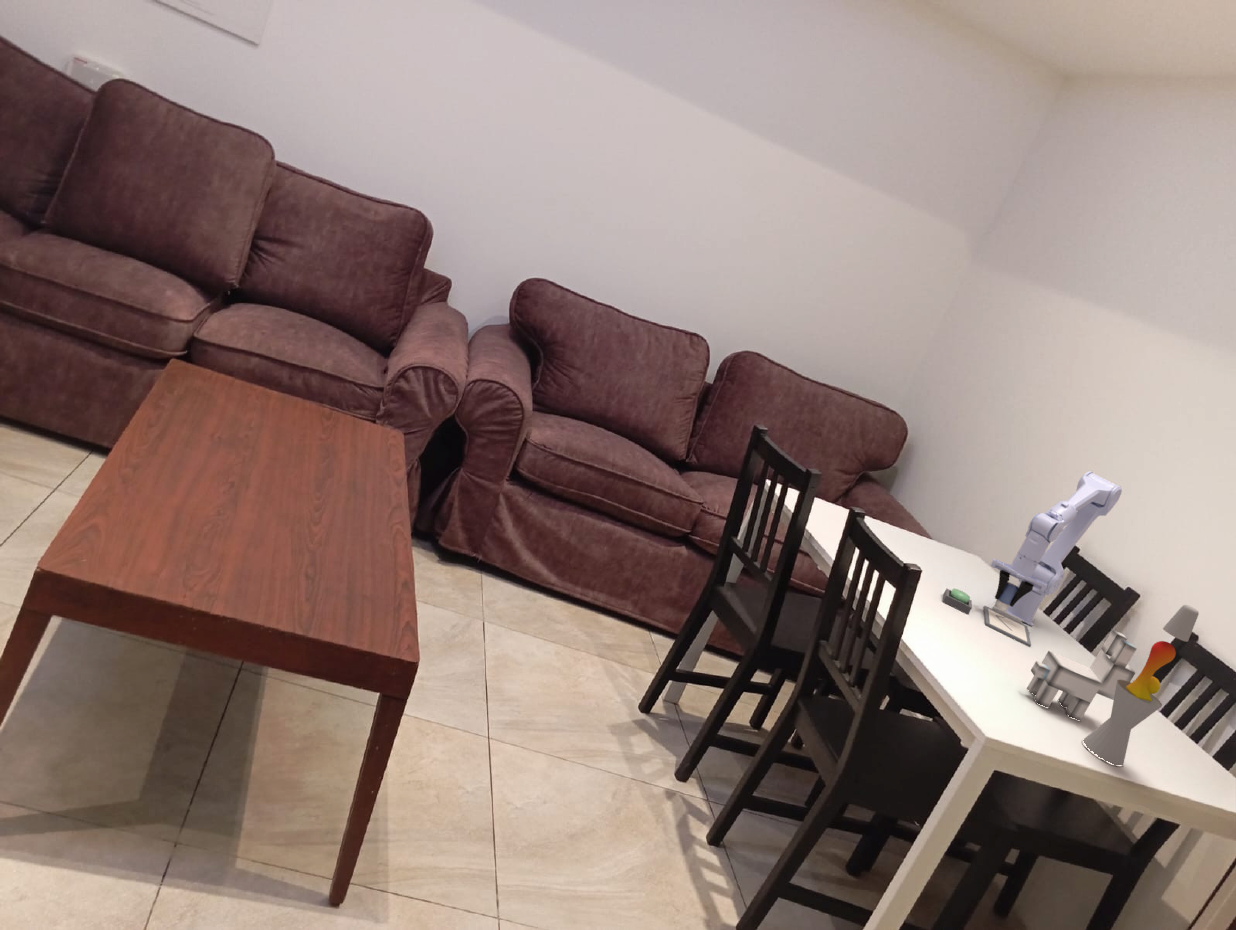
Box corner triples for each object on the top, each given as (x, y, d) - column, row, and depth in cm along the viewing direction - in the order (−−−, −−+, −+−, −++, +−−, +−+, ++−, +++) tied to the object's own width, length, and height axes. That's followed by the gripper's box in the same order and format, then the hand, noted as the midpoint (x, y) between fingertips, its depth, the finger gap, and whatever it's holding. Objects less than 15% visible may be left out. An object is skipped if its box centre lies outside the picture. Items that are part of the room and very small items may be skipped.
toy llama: (1016, 684, 229) (1060, 608, 224) (1088, 713, 230) (1133, 638, 224) (1026, 700, 222) (1072, 622, 217) (1100, 730, 222) (1147, 653, 217)
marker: (993, 603, 273) (1006, 580, 271) (1005, 609, 272) (1018, 586, 270) (994, 607, 270) (1007, 584, 268) (1006, 612, 269) (1019, 590, 267)
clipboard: (983, 607, 277) (986, 602, 277) (1026, 627, 275) (1029, 622, 274) (984, 625, 262) (987, 619, 262) (1030, 647, 260) (1033, 641, 259)
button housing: (943, 594, 273) (946, 588, 273) (968, 606, 272) (971, 600, 271) (942, 602, 267) (946, 595, 266) (968, 614, 265) (971, 607, 264)
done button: (949, 593, 271) (952, 586, 271) (966, 601, 270) (970, 595, 270) (949, 598, 267) (952, 591, 266) (966, 606, 266) (970, 600, 265)
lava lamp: (1100, 763, 204) (1192, 614, 195) (1071, 735, 212) (1158, 591, 203) (1133, 770, 208) (1225, 624, 198) (1103, 743, 216) (1190, 601, 206)
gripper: (1002, 548, 265) (977, 593, 268) (1056, 573, 261) (1031, 619, 265) (1001, 542, 271) (977, 586, 275) (1054, 567, 268) (1029, 611, 272)
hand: (1003, 601), depth 270 cm, fingers closed on marker, 3 cm apart
